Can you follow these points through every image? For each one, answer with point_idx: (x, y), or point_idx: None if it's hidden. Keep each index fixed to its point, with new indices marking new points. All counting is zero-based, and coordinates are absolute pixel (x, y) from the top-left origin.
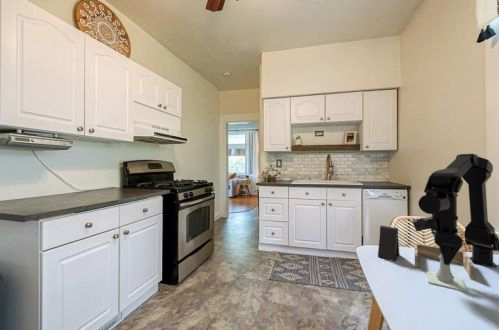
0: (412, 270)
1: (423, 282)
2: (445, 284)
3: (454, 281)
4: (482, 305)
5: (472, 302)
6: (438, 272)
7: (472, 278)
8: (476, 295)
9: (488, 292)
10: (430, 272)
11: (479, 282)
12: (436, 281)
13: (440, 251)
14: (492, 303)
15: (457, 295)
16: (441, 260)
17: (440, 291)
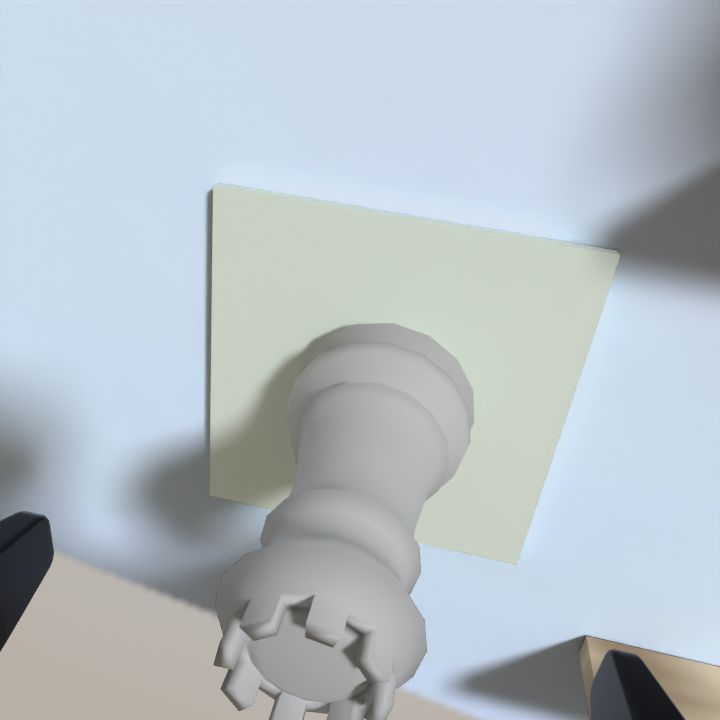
0: (631, 34)
1: (204, 126)
2: (246, 361)
3: None
4: (29, 495)
5: (30, 450)
6: (363, 375)
7: (581, 655)
8: (195, 528)
9: None
10: (586, 297)
11: (526, 664)
12: (283, 290)
13: (632, 710)
14: (116, 568)
15: (86, 387)
16: (293, 536)
17: (68, 262)
